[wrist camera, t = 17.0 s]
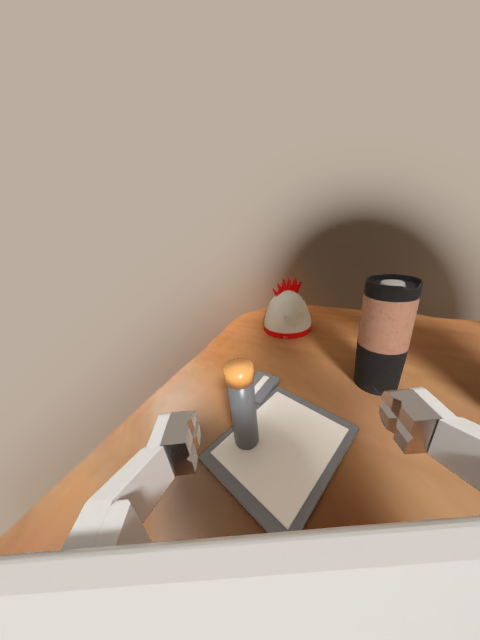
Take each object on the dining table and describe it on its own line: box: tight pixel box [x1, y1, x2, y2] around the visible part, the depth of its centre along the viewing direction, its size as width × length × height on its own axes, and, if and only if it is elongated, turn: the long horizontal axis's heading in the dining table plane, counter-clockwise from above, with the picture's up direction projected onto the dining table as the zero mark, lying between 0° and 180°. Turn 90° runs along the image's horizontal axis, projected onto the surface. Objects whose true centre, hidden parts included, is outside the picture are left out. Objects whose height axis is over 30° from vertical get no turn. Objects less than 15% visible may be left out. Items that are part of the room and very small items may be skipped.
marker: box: [223, 358, 259, 450], centre depth 31 cm, size 4×4×13 cm
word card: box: [254, 371, 280, 405], centre depth 44 cm, size 8×5×1 cm, turn 145°
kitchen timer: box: [264, 278, 312, 339], centre depth 65 cm, size 14×14×15 cm
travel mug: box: [354, 274, 423, 396], centre depth 39 cm, size 8×8×20 cm
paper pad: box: [198, 386, 359, 533], centre depth 33 cm, size 19×15×1 cm
